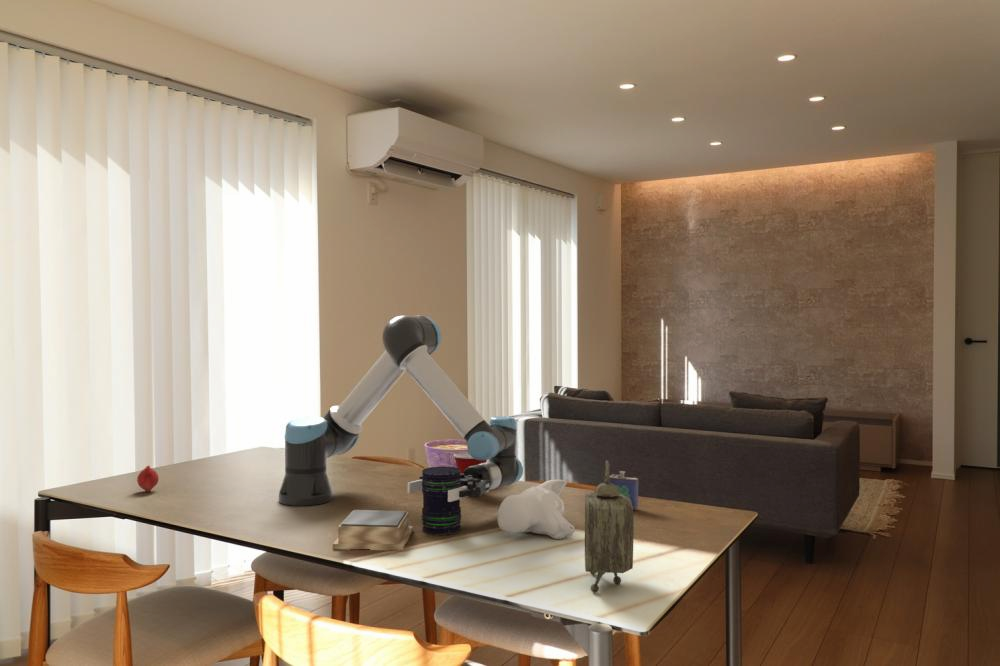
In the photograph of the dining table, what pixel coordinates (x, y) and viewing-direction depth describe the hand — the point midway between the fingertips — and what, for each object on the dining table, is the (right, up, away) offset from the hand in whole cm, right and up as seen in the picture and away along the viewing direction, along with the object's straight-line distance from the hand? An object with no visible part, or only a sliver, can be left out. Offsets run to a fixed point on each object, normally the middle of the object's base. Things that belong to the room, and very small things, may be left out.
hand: (428, 492), depth 188 cm
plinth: (-12, -10, -7) cm, 17 cm away
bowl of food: (+3, -9, +61) cm, 62 cm away
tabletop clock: (+40, -11, -35) cm, 54 cm away
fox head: (+29, -11, 0) cm, 31 cm away
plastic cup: (+9, -9, +42) cm, 44 cm away
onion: (-88, -8, +39) cm, 97 cm away
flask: (+52, -10, +25) cm, 59 cm away
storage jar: (+3, -10, +2) cm, 11 cm away
